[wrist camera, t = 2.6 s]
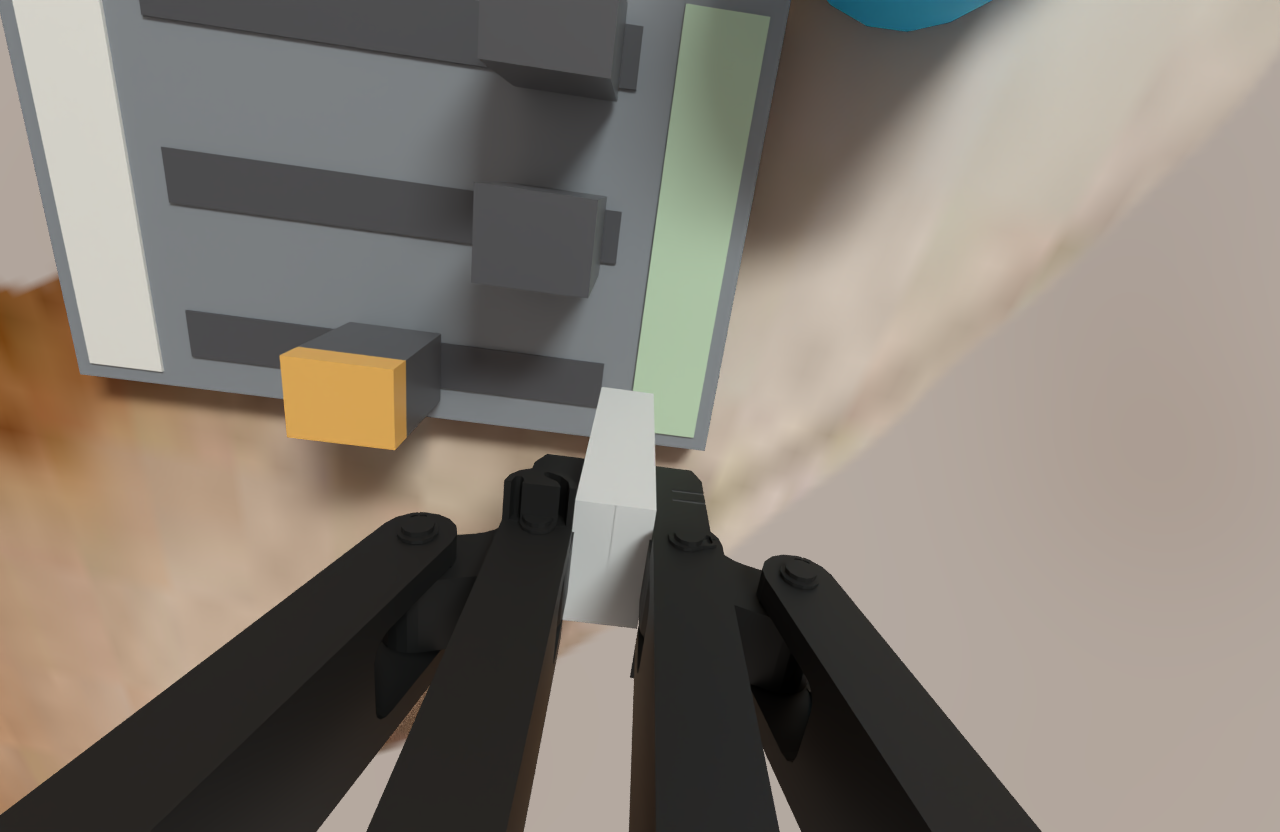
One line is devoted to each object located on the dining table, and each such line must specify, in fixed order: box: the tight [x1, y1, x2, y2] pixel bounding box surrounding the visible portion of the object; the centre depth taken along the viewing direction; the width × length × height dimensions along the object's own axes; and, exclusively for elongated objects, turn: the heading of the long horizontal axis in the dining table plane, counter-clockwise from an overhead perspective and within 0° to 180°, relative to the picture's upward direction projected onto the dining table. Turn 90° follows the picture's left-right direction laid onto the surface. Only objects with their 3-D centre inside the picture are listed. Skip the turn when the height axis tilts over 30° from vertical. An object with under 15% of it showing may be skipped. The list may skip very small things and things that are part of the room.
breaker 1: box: [478, 0, 628, 102], centre depth 15 cm, size 3×2×4 cm
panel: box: [0, 0, 791, 451], centre depth 19 cm, size 22×14×2 cm, turn 82°
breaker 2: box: [471, 182, 607, 298], centre depth 17 cm, size 3×2×4 cm
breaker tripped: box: [280, 322, 441, 450], centre depth 18 cm, size 3×2×4 cm
